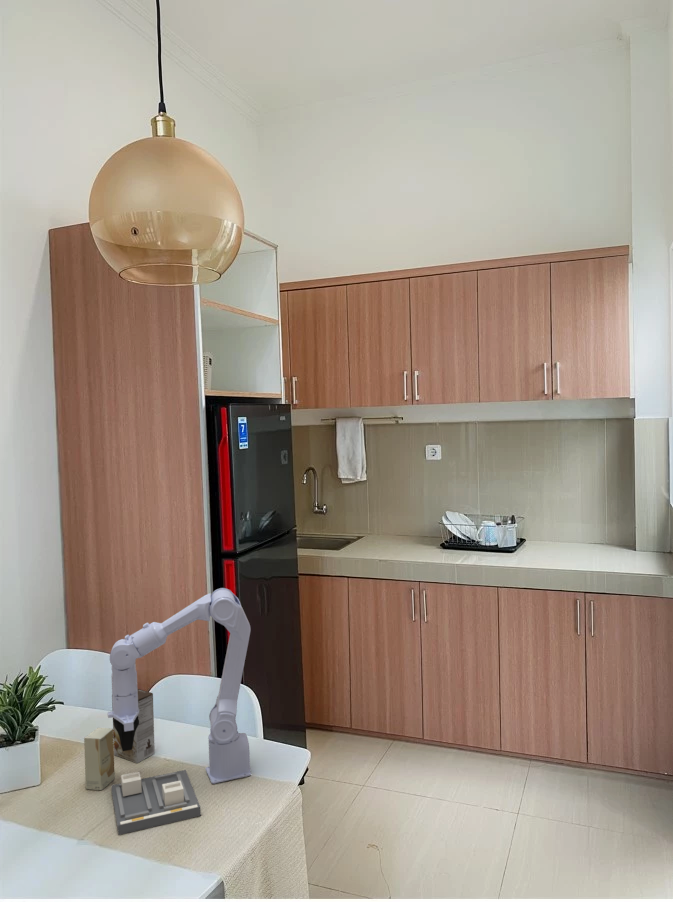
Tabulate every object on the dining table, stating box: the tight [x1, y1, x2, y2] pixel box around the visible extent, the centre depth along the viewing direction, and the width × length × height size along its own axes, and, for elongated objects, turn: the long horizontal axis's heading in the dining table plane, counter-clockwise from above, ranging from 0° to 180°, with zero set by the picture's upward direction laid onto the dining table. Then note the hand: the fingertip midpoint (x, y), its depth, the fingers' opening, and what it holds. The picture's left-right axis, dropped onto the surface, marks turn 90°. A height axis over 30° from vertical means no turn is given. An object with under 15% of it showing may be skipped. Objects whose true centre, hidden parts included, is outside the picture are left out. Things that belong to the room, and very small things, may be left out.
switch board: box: [110, 769, 202, 836], centre depth 157 cm, size 17×18×3 cm
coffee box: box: [111, 688, 156, 764], centre depth 182 cm, size 9×6×16 cm
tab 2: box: [162, 781, 184, 807], centre depth 155 cm, size 4×4×4 cm
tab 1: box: [120, 771, 142, 796], centre depth 159 cm, size 4×4×4 cm
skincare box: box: [83, 727, 116, 791], centre depth 167 cm, size 6×4×12 cm
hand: (127, 749), depth 166 cm, fingers closed
